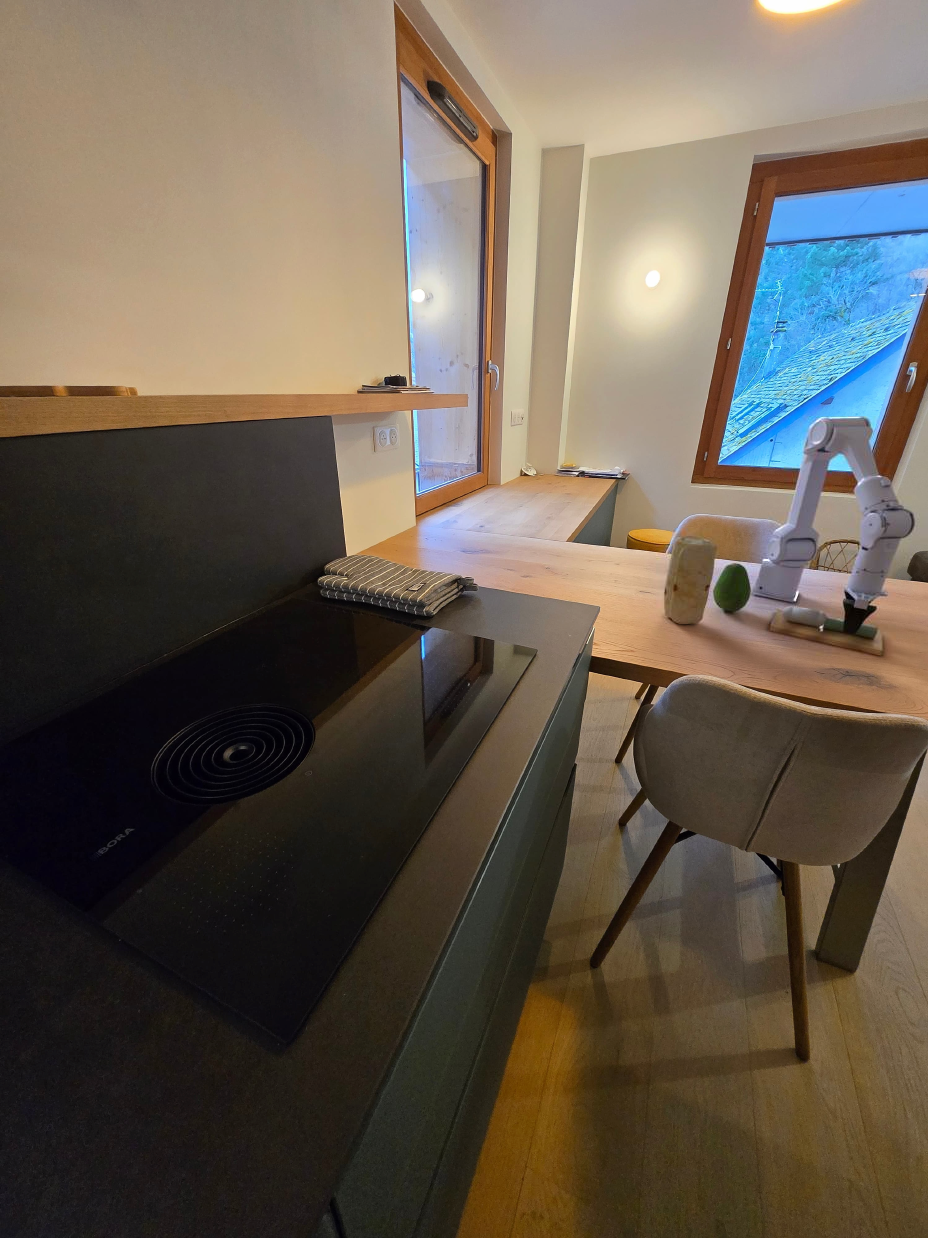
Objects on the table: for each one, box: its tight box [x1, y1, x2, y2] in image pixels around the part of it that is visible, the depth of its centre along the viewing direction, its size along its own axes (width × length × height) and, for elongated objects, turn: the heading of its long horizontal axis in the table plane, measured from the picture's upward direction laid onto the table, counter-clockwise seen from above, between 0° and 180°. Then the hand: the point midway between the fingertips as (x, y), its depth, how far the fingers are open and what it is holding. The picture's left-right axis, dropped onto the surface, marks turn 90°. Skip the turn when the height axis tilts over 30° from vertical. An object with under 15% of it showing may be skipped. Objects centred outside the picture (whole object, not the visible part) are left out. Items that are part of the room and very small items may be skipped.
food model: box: [663, 535, 718, 625], centre depth 113 cm, size 10×7×20 cm
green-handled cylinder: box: [782, 605, 879, 639], centre depth 109 cm, size 17×4×4 cm, turn 53°
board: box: [769, 608, 883, 656], centre depth 110 cm, size 20×11×1 cm, turn 53°
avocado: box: [712, 562, 752, 612], centre depth 119 cm, size 8×8×12 cm
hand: (849, 627), depth 107 cm, fingers open, 5 cm apart
